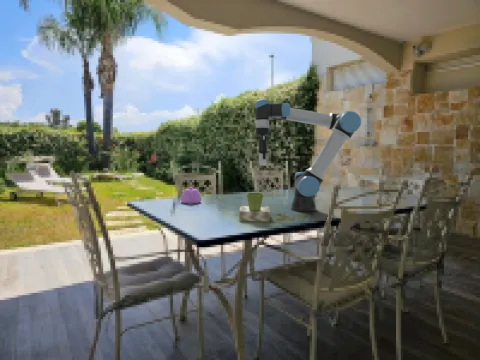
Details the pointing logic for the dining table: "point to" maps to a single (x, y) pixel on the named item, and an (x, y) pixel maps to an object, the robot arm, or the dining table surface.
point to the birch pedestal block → (254, 214)
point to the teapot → (191, 196)
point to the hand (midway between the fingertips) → (262, 164)
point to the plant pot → (254, 201)
